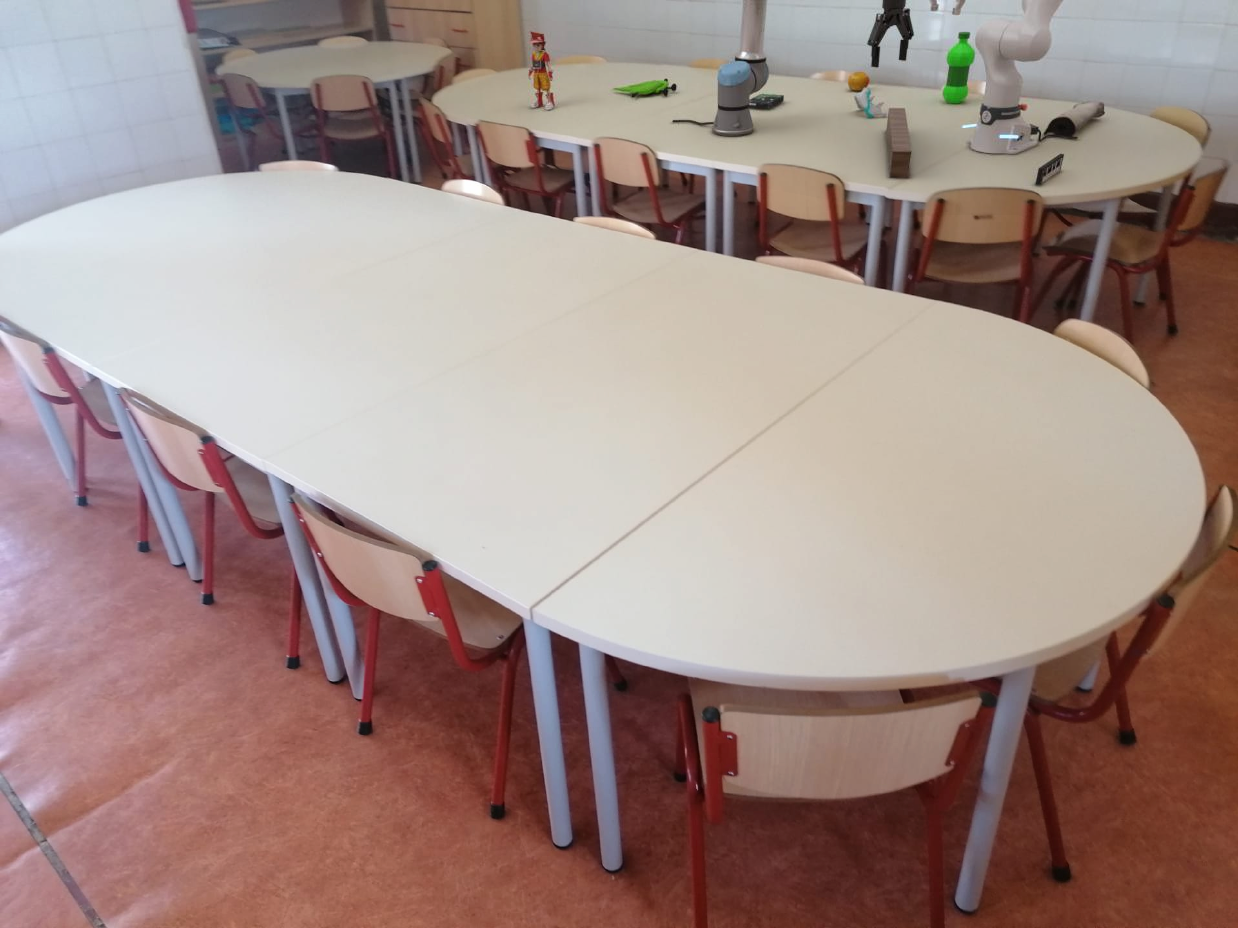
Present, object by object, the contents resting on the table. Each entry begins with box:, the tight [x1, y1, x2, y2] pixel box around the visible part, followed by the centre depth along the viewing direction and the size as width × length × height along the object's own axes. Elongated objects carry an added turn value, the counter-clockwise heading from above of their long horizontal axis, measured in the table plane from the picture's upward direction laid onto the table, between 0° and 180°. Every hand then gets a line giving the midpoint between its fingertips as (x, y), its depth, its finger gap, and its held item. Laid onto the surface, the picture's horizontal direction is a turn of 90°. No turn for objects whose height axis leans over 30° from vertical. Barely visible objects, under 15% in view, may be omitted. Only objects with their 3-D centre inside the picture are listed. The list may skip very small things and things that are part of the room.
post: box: [885, 107, 912, 179], centre depth 301 cm, size 54×6×8 cm, turn 167°
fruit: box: [847, 71, 870, 92], centre depth 377 cm, size 8×8×8 cm
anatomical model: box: [853, 87, 888, 119], centre depth 345 cm, size 15×10×10 cm
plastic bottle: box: [942, 31, 976, 104], centre depth 348 cm, size 10×10×25 cm
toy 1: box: [527, 31, 556, 111], centre depth 374 cm, size 12×9×30 cm
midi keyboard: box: [1035, 153, 1065, 186], centre depth 273 cm, size 18×1×5 cm, turn 138°
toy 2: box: [612, 78, 677, 99], centre depth 396 cm, size 28×5×30 cm
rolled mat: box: [1043, 100, 1106, 137], centre depth 316 cm, size 30×9×10 cm
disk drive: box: [749, 93, 785, 110], centre depth 365 cm, size 10×3×15 cm
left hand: (888, 64), depth 309 cm, fingers open, 13 cm apart
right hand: (944, 13), depth 265 cm, fingers open, 8 cm apart
